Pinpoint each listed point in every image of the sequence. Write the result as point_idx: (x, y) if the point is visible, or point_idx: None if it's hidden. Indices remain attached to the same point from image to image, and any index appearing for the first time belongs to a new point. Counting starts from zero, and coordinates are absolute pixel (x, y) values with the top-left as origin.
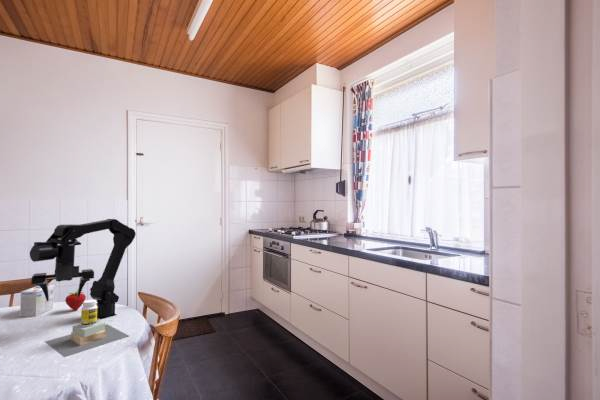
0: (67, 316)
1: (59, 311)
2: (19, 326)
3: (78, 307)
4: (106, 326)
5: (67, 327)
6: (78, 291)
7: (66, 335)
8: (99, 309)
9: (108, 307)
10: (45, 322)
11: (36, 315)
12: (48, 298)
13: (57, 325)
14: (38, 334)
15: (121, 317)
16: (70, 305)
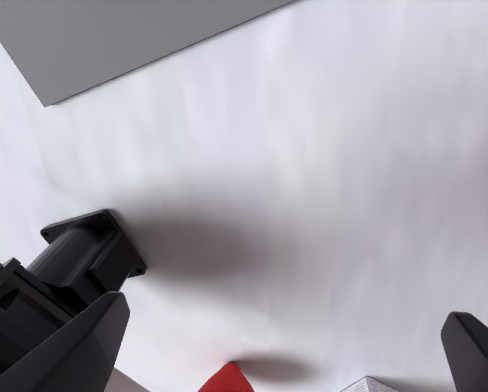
0: (257, 324)
1: (285, 380)
2: (439, 310)
3: (218, 372)
4: (35, 64)
5: (253, 191)
6: (58, 360)
7: (253, 16)
8: (90, 262)
9: (39, 260)
10: (341, 303)
11: (363, 379)
12: (474, 340)
13: (297, 243)
14: (390, 162)
15: (13, 197)
16: (245, 387)
